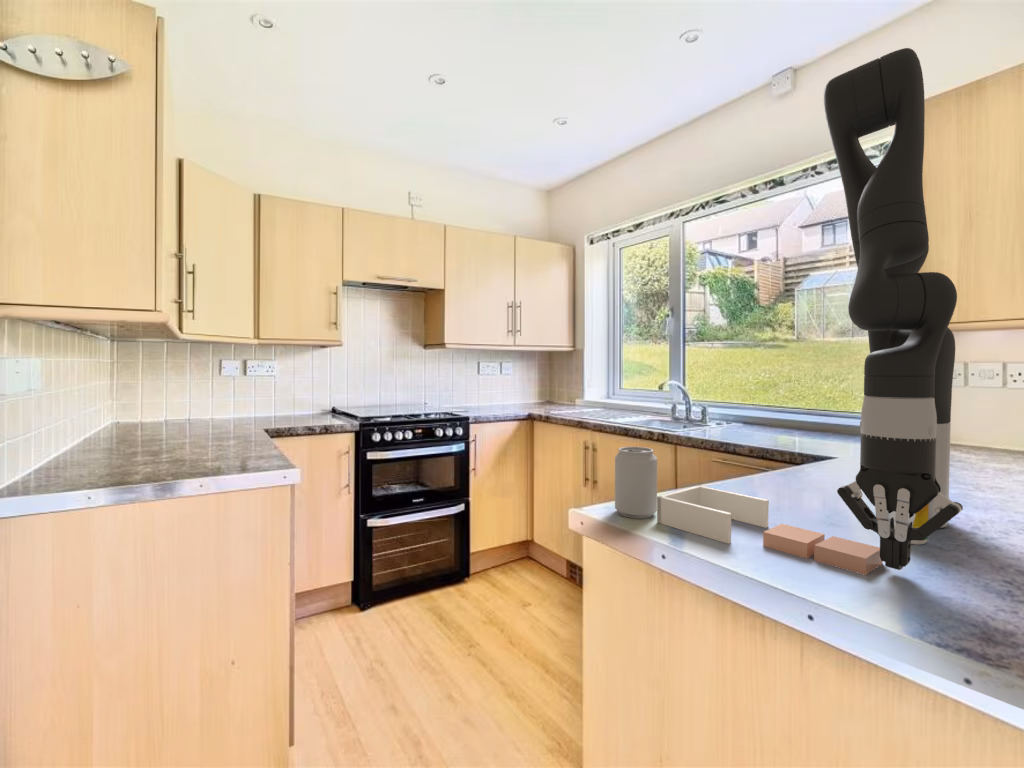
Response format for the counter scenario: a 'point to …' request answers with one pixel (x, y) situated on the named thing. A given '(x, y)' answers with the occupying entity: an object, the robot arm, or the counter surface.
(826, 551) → the tile
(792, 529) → the tile
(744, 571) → the counter surface
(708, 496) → the white u-shaped bracket
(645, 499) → the can
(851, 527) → the counter surface
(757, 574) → the counter surface
